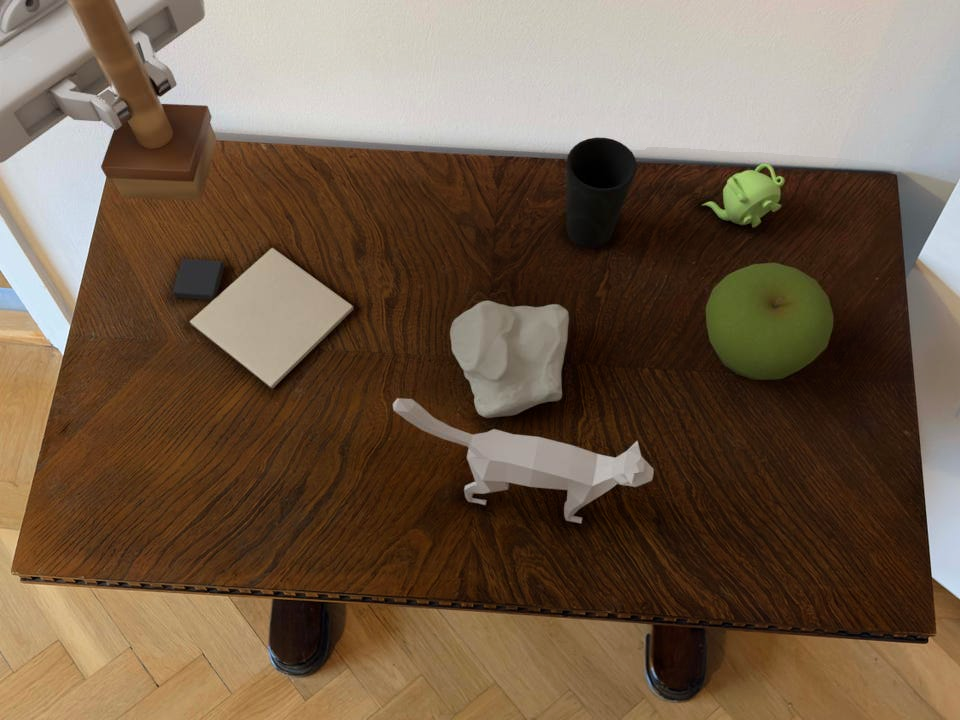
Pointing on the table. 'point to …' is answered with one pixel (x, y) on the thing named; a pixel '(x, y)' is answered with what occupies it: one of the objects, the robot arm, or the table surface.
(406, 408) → the cat figurine
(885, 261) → the table surface
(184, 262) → the felt pad
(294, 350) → the tile
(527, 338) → the decorative stone
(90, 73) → the robot arm
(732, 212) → the green kettle
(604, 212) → the cup
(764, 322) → the apple
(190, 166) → the wooden post stand
